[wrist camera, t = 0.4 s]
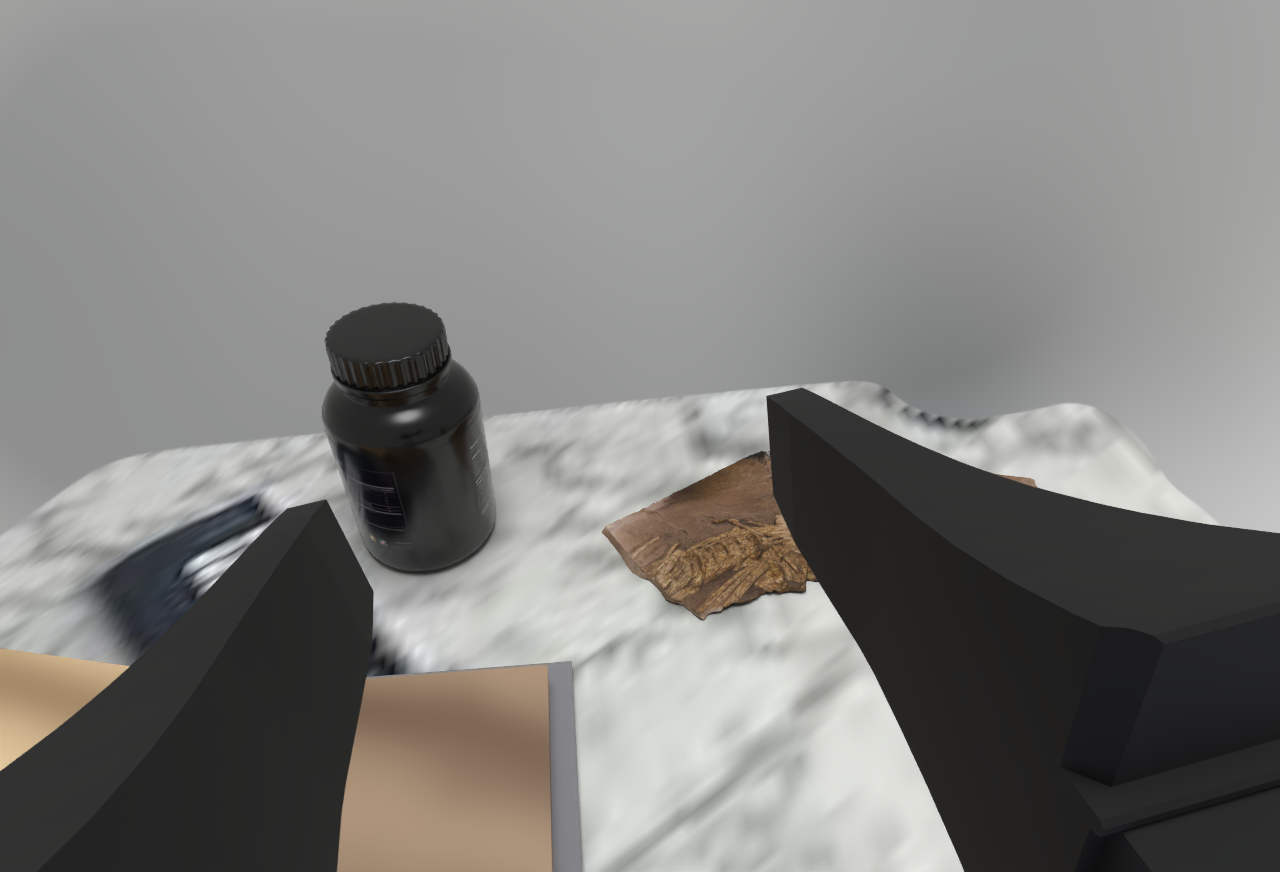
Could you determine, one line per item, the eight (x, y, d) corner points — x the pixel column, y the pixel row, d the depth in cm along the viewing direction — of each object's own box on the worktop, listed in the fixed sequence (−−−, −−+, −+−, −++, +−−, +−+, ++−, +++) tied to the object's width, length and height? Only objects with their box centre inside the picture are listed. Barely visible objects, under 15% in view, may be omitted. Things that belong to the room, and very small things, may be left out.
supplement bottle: (427, 463, 41) (389, 273, 33) (522, 511, 38) (506, 318, 30) (331, 540, 36) (260, 340, 28) (432, 600, 34) (385, 399, 26)
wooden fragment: (617, 632, 33) (618, 618, 32) (592, 471, 41) (592, 457, 41) (1106, 578, 37) (1115, 565, 36) (994, 441, 45) (1000, 429, 45)
